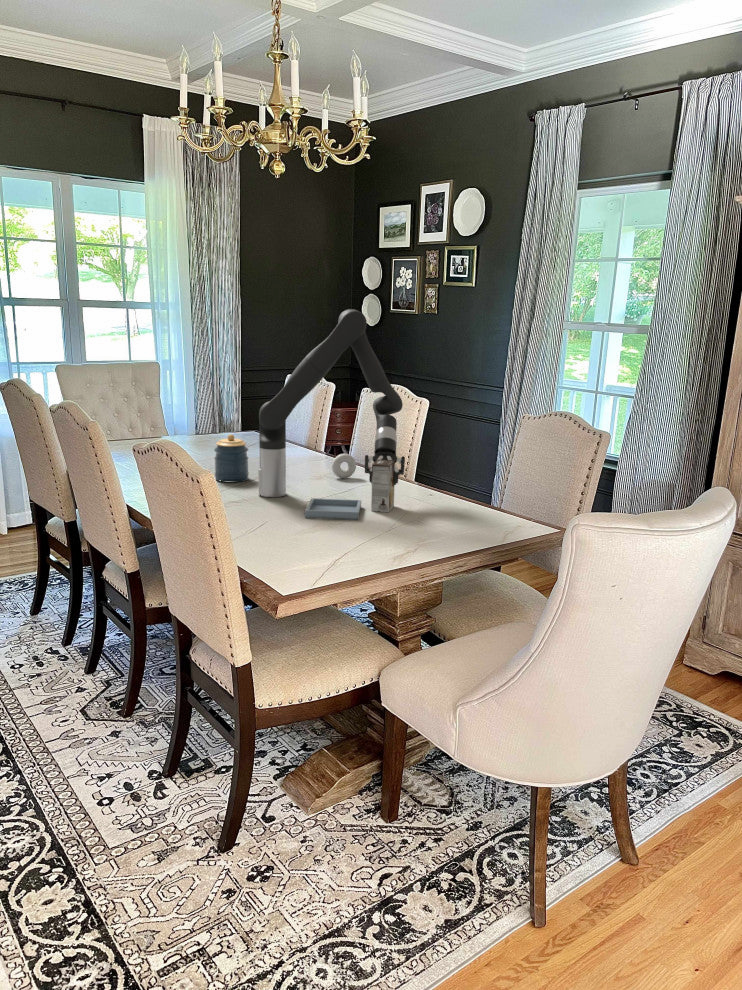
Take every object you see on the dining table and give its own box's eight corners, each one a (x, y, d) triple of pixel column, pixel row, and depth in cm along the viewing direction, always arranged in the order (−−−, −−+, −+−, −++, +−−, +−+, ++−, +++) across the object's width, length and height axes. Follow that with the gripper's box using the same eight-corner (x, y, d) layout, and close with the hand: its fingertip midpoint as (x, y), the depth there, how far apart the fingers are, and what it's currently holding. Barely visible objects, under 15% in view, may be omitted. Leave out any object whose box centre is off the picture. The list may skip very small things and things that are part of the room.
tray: (305, 518, 240) (305, 510, 239) (311, 505, 256) (311, 498, 255) (357, 520, 239) (358, 512, 239) (361, 507, 255) (361, 500, 254)
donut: (333, 480, 294) (333, 454, 291) (330, 478, 297) (330, 453, 294) (357, 478, 297) (357, 453, 295) (354, 476, 300) (354, 452, 298)
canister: (208, 480, 287) (207, 435, 283) (225, 474, 299) (224, 430, 295) (238, 484, 283) (237, 438, 279) (254, 477, 295) (254, 433, 290)
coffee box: (376, 504, 259) (377, 458, 255) (394, 505, 257) (395, 460, 254) (370, 511, 250) (371, 464, 246) (389, 512, 249) (390, 465, 245)
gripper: (364, 435, 256) (362, 476, 248) (406, 437, 256) (405, 478, 247) (365, 448, 263) (362, 488, 254) (406, 449, 262) (404, 490, 254)
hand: (383, 483), depth 251 cm, fingers closed on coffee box, 7 cm apart
